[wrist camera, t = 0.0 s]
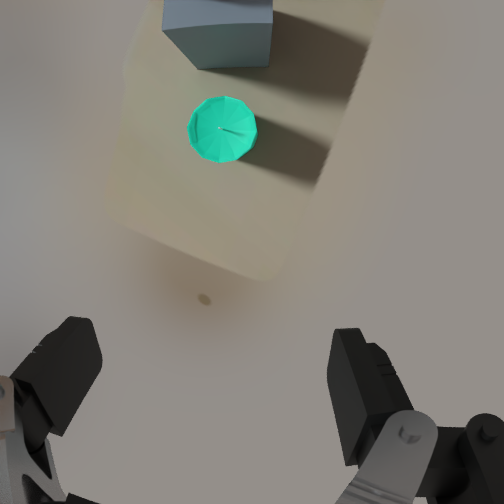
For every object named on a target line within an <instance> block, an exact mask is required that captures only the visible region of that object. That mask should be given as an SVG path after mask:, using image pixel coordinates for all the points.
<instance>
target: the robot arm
mask: <svg viewBox="0 0 504 504" xmlns="http://www.w3.org/2000/svg"><path fill="white" fill-rule="evenodd" d="M101 368H102V354H101V350H100V347H99V344H98V341H97V337H96V334H95V330H94V327H93V324H92V321H91V320H90V319H88V318H81V317H73V316H70V317H68V318H67V319H66V320H65V321H64V322H63V323H62V324H61V325H60V326H59V327H58V328H57V329H56V330H54V331H52V332H51V333H49V334H47V335H46V336H45V337H44V338H43V339H42V340H41V342H40V343H39V345H38V346H36V347H35V348H34V349H33V351H32V353H30V354H29V355H28V356H27V357H26V358H25V359H24V361H23V362H22V363H21V364H20V365H19V366H18V368H17V369H16V370H15V371H14V372H13V373H12V375H11V376H10V377H7V376H0V504H99V503H95V502H93V501H89V500H87V499H84V498H82V497H79V496H76V495H74V494H71V493H69V494H68V496H67V497H66V496H65V494H64V492H63V491H62V489H61V487H60V484H59V481H58V477H57V473H56V469H55V465H54V461H53V456H52V452H51V447H50V443H49V440H48V439H47V435H48V433H49V432H50V433H53V434H56V435H59V436H61V437H62V436H63V434H64V433H65V431H66V429H67V427H68V425H69V424H70V422H71V420H72V418H73V416H74V414H75V413H76V411H77V409H78V408H79V406H80V404H81V402H82V400H83V399H84V397H85V396H86V394H87V392H88V391H89V389H90V387H91V385H92V384H93V382H94V380H95V379H96V377H97V376H98V374H99V372H100V370H101ZM327 383H328V388H329V392H330V397H331V401H332V405H333V409H334V414H335V418H336V423H337V428H338V432H339V436H340V442H341V446H342V451H343V456H344V460H345V465H346V466H352V465H358V469H359V471H358V472H357V474H356V475H355V477H354V478H353V480H352V481H351V483H349V485H348V486H347V487H346V489H345V490H344V491H343V493H342V494H341V496H340V497H339V499H338V500H337V501H336V503H335V504H412V503H413V500H414V498H415V497H426V499H427V503H428V504H504V422H503V421H502V420H501V419H500V418H498V417H497V416H495V415H492V414H487V413H483V414H478V415H476V416H474V417H473V418H471V419H470V421H469V422H468V424H467V425H466V427H438V426H436V424H435V423H434V421H433V420H432V419H431V418H430V417H429V416H427V415H426V414H424V413H422V412H419V411H415V410H414V408H413V406H412V404H411V402H410V400H409V398H408V396H407V393H406V391H405V389H404V387H403V385H402V383H401V381H400V379H399V377H398V376H397V375H396V371H395V369H394V367H393V366H392V363H391V361H390V359H389V357H388V355H387V353H386V352H385V351H384V350H383V349H381V348H380V347H379V346H378V345H377V344H375V343H366V341H365V339H364V337H363V335H362V332H361V331H360V329H359V328H346V329H335V331H334V333H333V339H332V345H331V351H330V356H329V362H328V367H327Z"/></svg>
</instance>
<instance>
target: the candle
mask: <svg viewBox="0 0 504 504" xmlns="http://www.w3.org/2000/svg"><path fill="white" fill-rule="evenodd" d="M187 131H188V135H189V140H190V145H191V146H192V147H193V148H194V149H195V150H196V151H197V152H198V154H199V155H200V156H201V157H202V158H205V159H208V160H211V161H214V162H217V163H222V162H227V161H233V160H237V159H239V158H240V157H242V156H243V155H245V154H246V153H247V152H248V151H250V150H251V149H252V148H253V147H254V145H255V142H256V139H257V137H258V132H257V126H256V121H255V117H254V114H253V112H252V111H251V110H250V109H249V108H248V107H247V106H246V105H245V104H244V102H243V101H241V100H238V99H235V98H231V97H228V96H221V97H215V98H209V99H206V100H205V101H204V102H203V103H202V104H201V105H200V106H199V107H197V108H196V109H195V110H194V111H193V114H192V116H191V119H190V121H189V123H188V126H187Z"/></svg>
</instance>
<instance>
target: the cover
mask: <svg viewBox="0 0 504 504" xmlns="http://www.w3.org/2000/svg"><path fill="white" fill-rule="evenodd" d="M272 27H273V4H272V0H164V9H163V21H162V31H163V32H164V33H165V34H166V35H167V36H168V37H169V39H170V40H171V41H172V42H173V43H174V44H175V45H176V46H177V47H178V48H179V49H180V50H181V51H182V52H183V54H184V55H185V56H186V57H187V58H188V59H189V60H190V61H191V62H192V63H193V65H194V66H195V67H196V68H197V69H208V68H228V67H269V57H270V47H271V37H272Z"/></svg>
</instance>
